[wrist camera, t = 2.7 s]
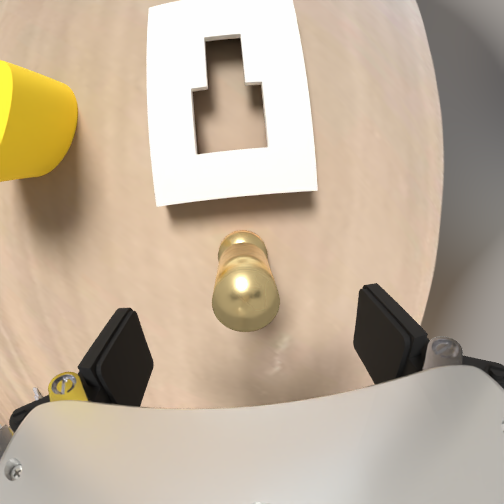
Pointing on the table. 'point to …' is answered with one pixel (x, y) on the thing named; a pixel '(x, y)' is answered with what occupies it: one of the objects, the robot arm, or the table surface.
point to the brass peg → (244, 284)
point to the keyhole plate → (255, 73)
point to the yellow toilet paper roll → (33, 122)
